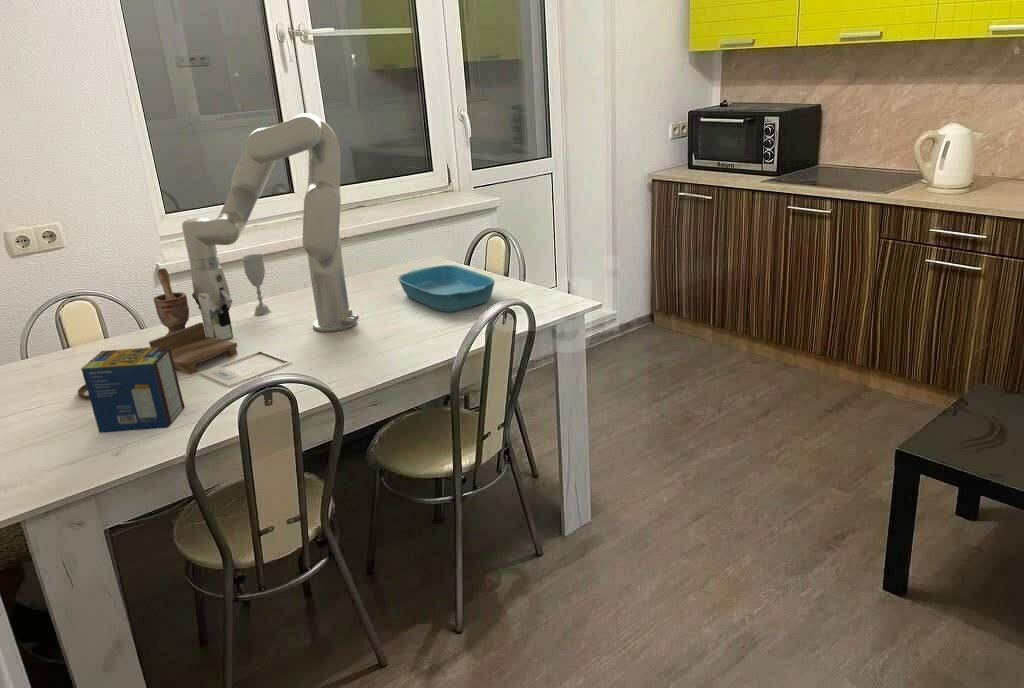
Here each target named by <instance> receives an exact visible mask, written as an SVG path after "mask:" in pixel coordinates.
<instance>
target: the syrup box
mask: <svg viewBox="0 0 1024 688" xmlns="http://www.w3.org/2000/svg"><path fill="white" fill-rule="evenodd" d="M198 299H199V304H200V309H201V310H200V309H199V310H200V312H201V318H202V321H203V322H202V323H203V325H204V330H205V334H206V337H210V338H215V339H220V340H225V341H227V340H230V339H232V337H233V338H234V333H233V327H232V323H231V324H229V325H226V326H224V327H221V326H220V321H219V316H218V313H219V311H218V309H217V307H216V305H215V304H213V303H212V301H211V298H210V295H209V294H205V293H200V292H199V295H198ZM219 301H223V298H221V299H219ZM220 306H221V308H222V306H223V303H222V304H220ZM229 338H230V339H229Z"/></svg>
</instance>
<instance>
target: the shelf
mask: <svg viewBox="0 0 1024 688" xmlns="http://www.w3.org/2000/svg"><path fill="white" fill-rule="evenodd" d="M167 334H168V333H167ZM148 342H149V346H150V347H161V346H170V349H171V354H172V358H173V362H174V366H175V370H176V372H181V373H185V374H190V375H191V374H194V373H197V372H198V368H197V364H199V363H201V362H204V361H206V360H209V359H211V358H213V357H216V356H218V355H223V356H228V357H233V355H234V356H236V355H238V351H237V347H238V343H237V342H233V341H228V340H220V339H215V338H210V337H206V333H205V328H204V323H203V322H199V323H195V324H193V325H190V326H188V327H185V328H184V329H182V330H179V331H176V332H174V333H171V334H168V335H166V334H165V335H163V336H160V337H158V338H156V339H155V338H154V339H153V340H150V341H148ZM235 354H236V355H235Z"/></svg>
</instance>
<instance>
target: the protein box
mask: <svg viewBox="0 0 1024 688" xmlns="http://www.w3.org/2000/svg"><path fill="white" fill-rule="evenodd" d="M148 347H149V346H148ZM80 370H81V373H82V376H83V379H84V383H85V384H86V387H87V391H86V392H87V394H88V396H89V398H90V400H89V401H90V404H91V408H92V412H93V415H94V418H95V422H96V426H97V429H98V433H100V434H101V433H102V434H103V433H115V432H130V431H131V432H132V431H143V430H144V431H145V430H154V429H155V430H156V429H168V428H170V426H171V425H172V424H173V422H174V421H175V420H176V419H177V418H178V416H179V415H180V414H181V412H182V411H183V410H184V408H185V403H184V400H183V395H182V391H181V386H180V384H179V383H180V382H179V379H178V374H177V371H176V370H175V366H174V362H173V358H172V354H171V349H170V346H161V347H149V348H146V347H140V348H125V349H113V350H112V349H111V350H102V351H100V352H99V353H98V354H96V355H95V357H93V358H92V359H91V360H89V361H87V363H85V365H84V366H82V367H80Z"/></svg>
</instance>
